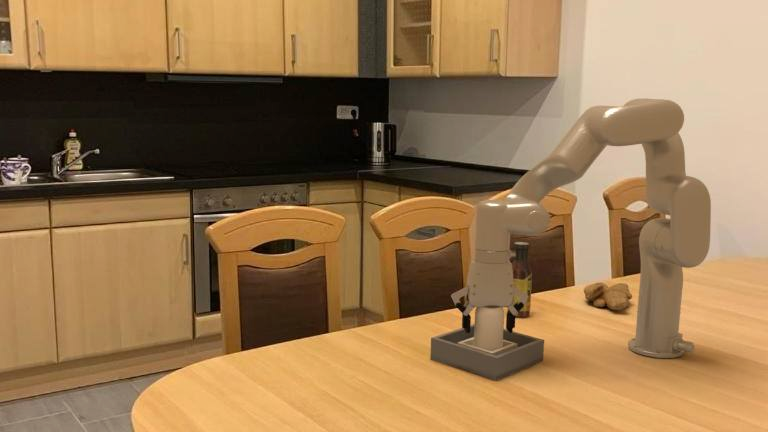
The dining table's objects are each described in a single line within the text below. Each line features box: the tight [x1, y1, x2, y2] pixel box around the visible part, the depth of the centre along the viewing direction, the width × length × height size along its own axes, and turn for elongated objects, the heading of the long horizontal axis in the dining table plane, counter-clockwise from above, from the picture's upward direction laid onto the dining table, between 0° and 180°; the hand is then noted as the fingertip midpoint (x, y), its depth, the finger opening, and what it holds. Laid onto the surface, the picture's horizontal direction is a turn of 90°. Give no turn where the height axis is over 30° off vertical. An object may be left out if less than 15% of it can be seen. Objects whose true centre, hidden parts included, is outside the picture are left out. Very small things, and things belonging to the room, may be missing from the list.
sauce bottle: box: [506, 241, 533, 318], centre depth 212 cm, size 7×6×20 cm
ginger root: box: [583, 282, 633, 311], centre depth 226 cm, size 16×16×8 cm
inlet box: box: [429, 323, 545, 382], centre depth 177 cm, size 18×18×5 cm
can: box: [474, 307, 505, 352], centre depth 176 cm, size 6×6×12 cm
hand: (488, 331), depth 176 cm, fingers open, 9 cm apart
